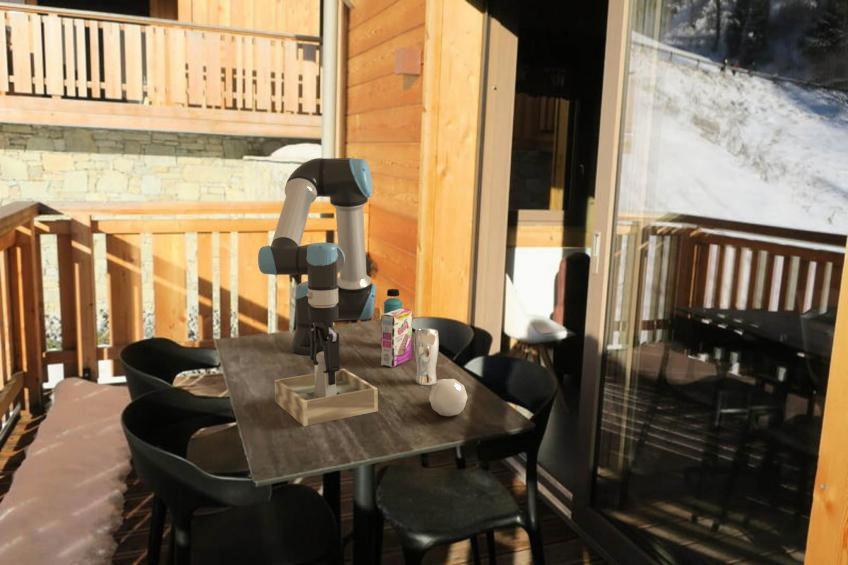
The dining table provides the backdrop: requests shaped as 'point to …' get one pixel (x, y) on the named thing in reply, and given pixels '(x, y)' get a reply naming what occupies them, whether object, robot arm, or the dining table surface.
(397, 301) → the beverage bottle
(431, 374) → the beer glass
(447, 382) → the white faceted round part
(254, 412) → the dining table surface
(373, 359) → the dining table surface
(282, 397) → the insert box
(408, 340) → the candy bar box
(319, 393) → the salt shaker
